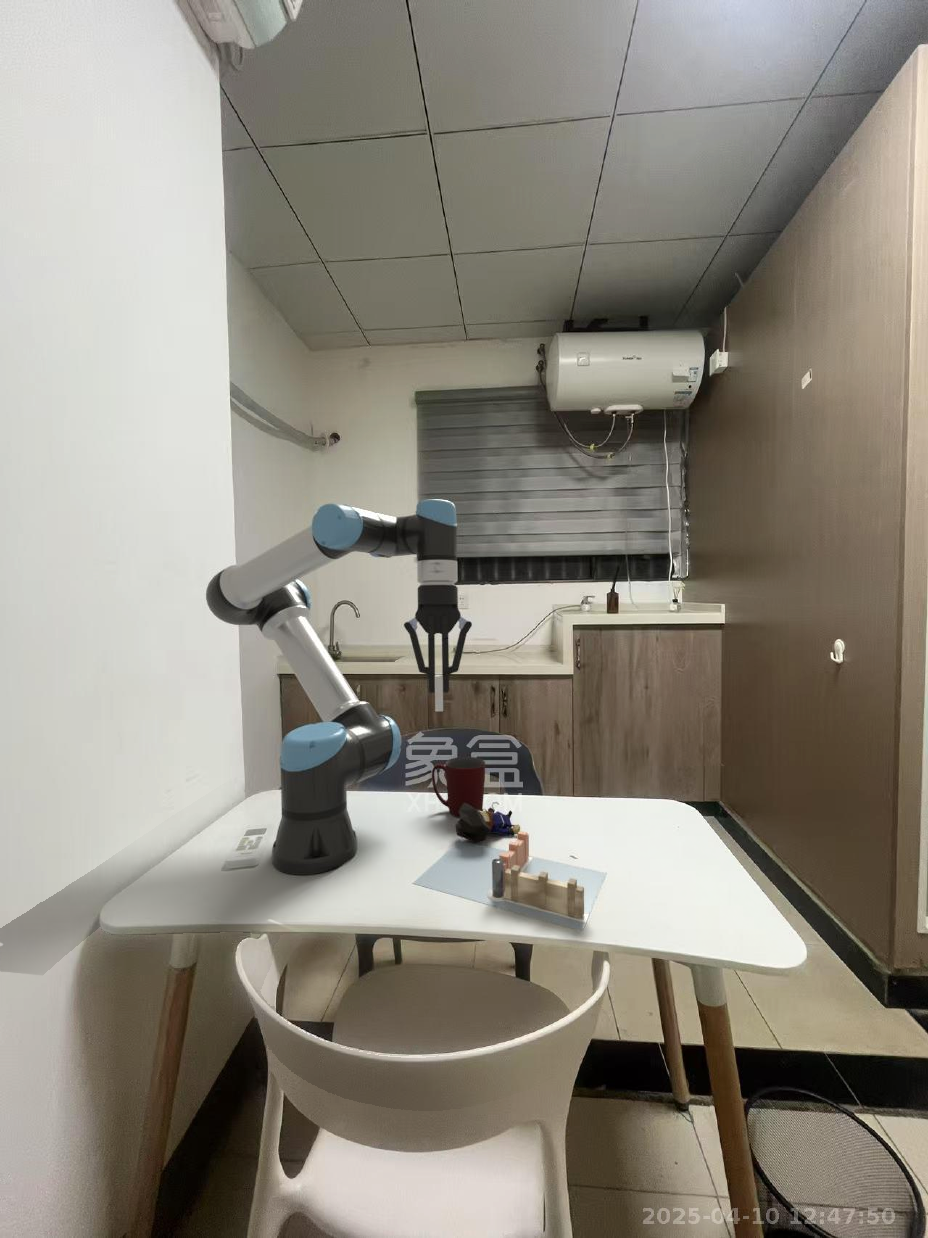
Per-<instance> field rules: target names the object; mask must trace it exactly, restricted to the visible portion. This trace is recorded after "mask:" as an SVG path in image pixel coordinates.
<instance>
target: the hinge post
mask: <svg viewBox="0 0 928 1238" xmlns="http://www.w3.org/2000/svg"><path fill="white" fill-rule="evenodd" d="M492 895H493V897H495V898H501V897H503V896H504V862H503V860H501V859H494V860H492Z"/></svg>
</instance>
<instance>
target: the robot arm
mask: <svg viewBox="0 0 928 1238" xmlns="http://www.w3.org/2000/svg"><path fill="white" fill-rule="evenodd" d="M457 520H458V519H457V508H456V505H455V504H454V503H453V502H452V501H449V500H446V499H434V498H433V499H424V500H422V501H419V502H418V503H417V504H416V509H415V514H412V515H406V516H391V515H386V514H382V513H378V512H374V511H369V510H364V509H361V508H357V507H353V506H351V505H347V504H345V503H344V504H340V503H339V504H338V503H325V504H323V505H322V506H320V507H319V508H318V509H317V512H316V514H314V515H313V517H312V520H311V525H309V526H307V527H306V528H304V529H303V530H301V531H299V532H297V533H295V534H294V535H292V536H290V537H288V538H286V539H285V540H283V541H281V542H280V543H278V544H276V545H274V546H273V547H271V548H269V549H267V550H266V551H264V552H262V553H261V554H258V555H257V556H256V557H254V558H252V559H250V560H248V561H247V562H244V563H243V564H241V565H240V564H233V565H230V566H227V567H226V568H223V569H222V570H221V571H219V572H217V573H216V574H215V575H214V576H213V577H212V578H211V579H210V581H209V582H208V585H207V587H206V593H205V599H206V604H207V606H208V608H209V610H210V611H211V612H212V614H213V616H215V617H216V618H217V619H219V620H221V621H222V622H224V623H226V624H230V625H234V626H251V625H252V626H254V625H255V626H257V627H258V629H259V631H260V632H261V634H262V635H263V637H264V639H267V640H269V641H270V640H271V641H274V642H275V644H276V646H277V647H278V649H279V651H280V652H281V654H282V656H283V657H284V659H285V660H286V662H287V664H288V666H289V667H290V669H291V670H292V672H293V674H294V675H295V677H296V679H297V680H298V682H299V683H300V685H301V687H302V689H303V690H304V692H305V694H306V695H307V697H308V699H309V700H310V701H311V703H312V705H313V707H314V708H315V710H316V712H317V713H318V715H319V717H320V719H321V720H322V722H321V721H320V722H317V723H309V724H306V725H303V726H299V727H297V728H295V729H293V730H291V731H290V732H288V733H286V734H285V736H284V738H282V741H281V743H280V757H279V767H280V790H281V791H280V793H281V794H280V796H281V797H280V799H281V804H280V805H281V818H280V822H279V825H278V828H277V833H276V836H275V837H276V838H275V841H274V842H273V845H272V848H271V862H272V865H273V867H274V868H275V869H276V870H278V871H280V872H283V873H285V874H290V875H300V876H301V875H302V876H303V875H313V874H314V875H315V874H319V873H324V872H329V871H331V870H335V869H336V868H337V869H338V868H339V867H341V866H344V865H345V864H347V863H348V862H350V861H351V860H352V859H353V858H354V856H355V855H356V854H357V853H358V852H357V851H358V839H357V833H356V831H355V830H354V829H353V825H352V821H351V818H350V815H349V811H348V806H347V804H348V800H347V799H348V798H347V797H348V795H347V792H348V791H347V788H348V787H350V786H353V785H355V784H358V783H359V782H362V781H364V780H366V779H369V778H372V777H373V776H378V775H381V774H382V773H383V772H384V771H386V770H388V769H390V768H391V767H393V766H394V765H395V764H396V763H397V760H398V759H399V757H400V753H401V751H402V749H401V746H402V736H401V732H400V729H399V727H398V724H397V723H396V722H395V720H394V719H393V718H391V717H389V716H387V715H383V714H378V713H377V712H376V711H375V709H374V708H373V706H372V705H371V704H370V702H368V701H362V700H359V698H358V696H357V695H356V694H355V692H354V690H353V689H352V687H351V686H350V684H349V682H348V681H347V679H346V677H345V676H344V675H343V673H342V672H341V670H340V669H339V667H338V665H337V664H336V663H335V661H334V659H333V658H332V656H331V654H330V653H329V651H328V649H326V648H327V647H325V645H324V643H323V642H322V640H321V639H320V637H319V636H318V634H317V633H316V631H315V630H314V628H313V626H312V625H311V623H310V622H309V621H310V618H311V607H312V603H311V602H310V599H311V594H310V592H309V590H308V588H307V586H306V585H305V584H304V583H303V581H301V580H299V579H301V578H303V577H305V576H307V575H310V574H311V573H312V572H315V571H317V570H318V569H320V568H323V567H324V566H326V565H328V564H331V563H333V562H334V561H336V560H338V559H340V558H343V557H346V556H347V555H350V554H351V553H353V552H356V553H357V552H358V553H367V554H369V555H371V557H374V558H386V559H388V558H394V557H401V556H410V555H411V556H412V555H416V560H417V561H416V566H417V567H416V569H417V571H416V572H417V583H418V584H419V585H418V587H417V610H416V612H415V615H414V617H413V618H411V619H410V620H408V621H406V622H404V624H403V627H404V629H405V630H406V632H407V633H408V634H409V637H410V641H411V645H412V649H413V653H414V656H415V660H416V665H417V668H418V672H419V673H421V674H425V675H427V677H428V693H429V694H434V711H435V712H444V694H445V693H447V694H448V693H449V691H450V675H451V674H453V673H457V672H458V671H459V669H460V664H461V660H462V654H463V651H464V647H465V643H466V638H467V634H468V632H469V631H470V629H471V628H472V626H473V623H472V622H471V621H469V620H467V619H465V618H464V617H463V616H462V614H461V611H460V610H459V597H458V596H459V595H458V594H459V589H458V587H457V585H455V584H456V583H457V582H458V577H459V576H458V545H457V544H458V543H457V542H458V536H457V535H458V527H459V526H458V522H457ZM457 623H458V628H459V629H460V631H459V634H458V639H457V643H456V646H455V647H456V648H455V651H454V656H453V660H452V665H450V663H449V662H450V659H449V656H450V655H449V653H450V652H449V651H450V650H449V647H450V645H449V633H451V632H452V631H453V629H454V627H455V626H456V625H457ZM418 624H419V625H420V626H421V628H422V629H423V631H424V632H425V633H426V634H427V649H428V651H427V652H428V653H427V654H428V657H427V659H428V662H427V665H428V666H427V665H426V664H425V659H424V656H423V653H422V649H421V648H422V647H421V645H420V641H419V637H418V636H419V635H418V633H417V631H416V630H417V629H418ZM436 634H440V635H441V662H442V663H441V666H442V669H441V673H442V674H436V643H435V640H436V638H435V636H436Z"/></svg>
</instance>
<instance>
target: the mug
mask: <svg viewBox="0 0 928 1238" xmlns="http://www.w3.org/2000/svg"><path fill="white" fill-rule="evenodd" d="M444 764H445V765H444ZM444 764H443V763H437V764H435V765H434V766H433V768H432V771H431V781H432V783H431V784H432V787H433V791H434V793H435V795H436V798H437V799H438V800H439V802H440V803H441V804H442V805H444V806H445V807H446V808H447V809H448V812H449V814H450V815H451V816H452V817H455V818H459V819H460V815H459V813H458V811H459V809H460V808H461V806H462V805H463V803H466V804H468V805H470V806H471V807H473V808H474V809H484V808H483V806H484V797H485V795H484V794H485V793H484V792H485V781H486V780H485V777H486V776H485V775H486V762H485V760H483V759H482V758H479V757H474V756H457V757H453V758H450V759H448V760H446V761H445V763H444ZM436 769H441V770H443V772H444V773H445V780H446V790H447V791H446V793H447V798H446V799H444V798H443V797H442V795H441V794H440V792H439V790H438V787H437V784H436V777H435V772H436Z"/></svg>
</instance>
